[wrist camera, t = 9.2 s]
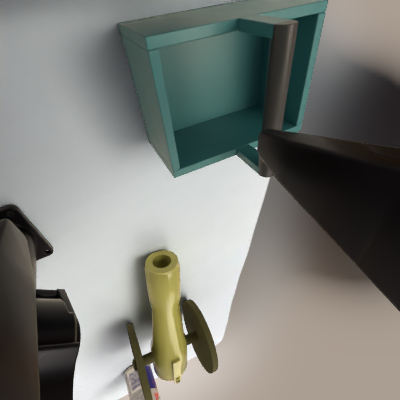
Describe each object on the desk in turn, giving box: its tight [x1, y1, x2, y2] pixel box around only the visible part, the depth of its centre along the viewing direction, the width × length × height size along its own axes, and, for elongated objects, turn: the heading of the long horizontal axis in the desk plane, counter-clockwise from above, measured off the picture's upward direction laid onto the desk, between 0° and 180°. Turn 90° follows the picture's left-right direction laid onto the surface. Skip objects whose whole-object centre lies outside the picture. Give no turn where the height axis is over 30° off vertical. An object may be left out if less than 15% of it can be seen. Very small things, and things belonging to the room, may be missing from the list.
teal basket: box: [118, 0, 328, 178], centre depth 17 cm, size 9×12×10 cm
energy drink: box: [125, 364, 160, 400], centre depth 48 cm, size 5×5×12 cm
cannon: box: [127, 250, 218, 400], centre depth 35 cm, size 25×12×11 cm, turn 174°
